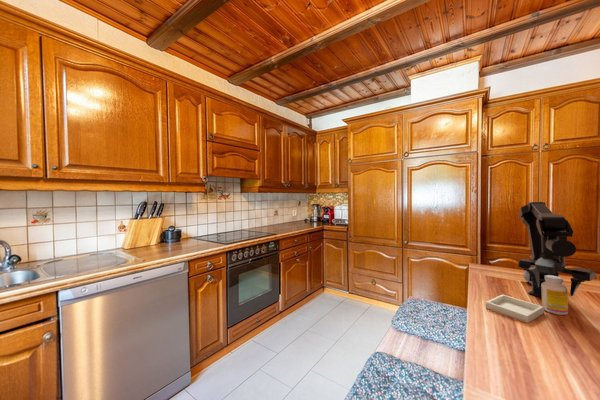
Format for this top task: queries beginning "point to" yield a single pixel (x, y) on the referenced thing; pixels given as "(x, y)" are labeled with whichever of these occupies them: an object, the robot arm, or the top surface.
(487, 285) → the top surface
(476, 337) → the top surface
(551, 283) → the supplement bottle
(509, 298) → the tray
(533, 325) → the top surface
